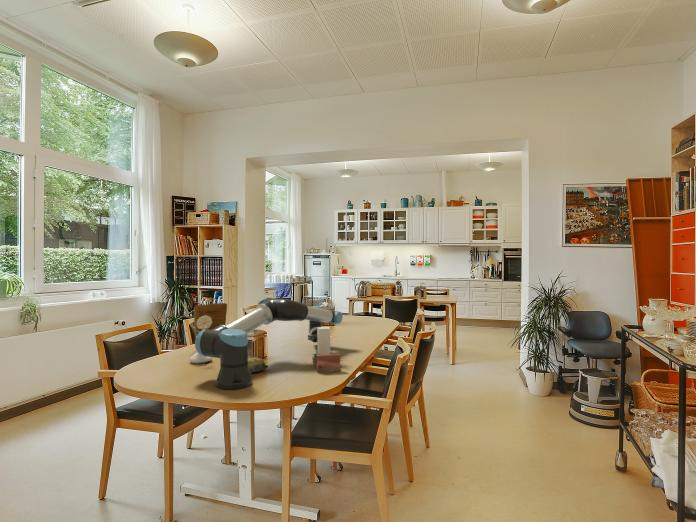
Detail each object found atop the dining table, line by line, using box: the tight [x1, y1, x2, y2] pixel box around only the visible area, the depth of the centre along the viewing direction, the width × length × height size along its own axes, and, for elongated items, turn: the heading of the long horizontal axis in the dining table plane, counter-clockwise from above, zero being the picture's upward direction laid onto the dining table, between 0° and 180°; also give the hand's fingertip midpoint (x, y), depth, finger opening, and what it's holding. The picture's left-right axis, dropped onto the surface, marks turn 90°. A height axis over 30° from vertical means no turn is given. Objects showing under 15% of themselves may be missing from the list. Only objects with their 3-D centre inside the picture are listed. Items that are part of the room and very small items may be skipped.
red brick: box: [311, 352, 341, 373], centre depth 207 cm, size 24×11×8 cm, turn 11°
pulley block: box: [248, 355, 269, 373], centre depth 205 cm, size 14×6×30 cm
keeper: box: [316, 326, 331, 355], centre depth 213 cm, size 6×6×16 cm
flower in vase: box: [189, 315, 213, 364], centre depth 216 cm, size 13×11×25 cm
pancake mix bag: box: [193, 302, 228, 337], centre depth 245 cm, size 7×19×28 cm, turn 111°
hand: (322, 342), depth 220 cm, fingers closed
